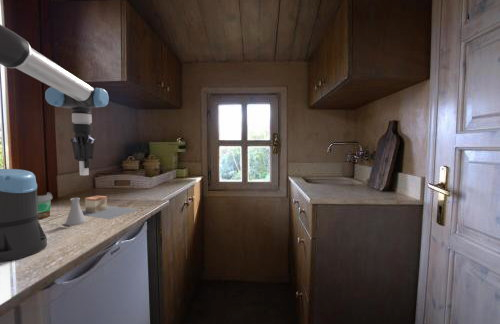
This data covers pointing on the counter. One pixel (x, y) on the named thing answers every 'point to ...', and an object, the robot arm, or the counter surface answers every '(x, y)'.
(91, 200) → the birch cube
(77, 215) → the flask
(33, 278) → the counter surface
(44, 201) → the food container
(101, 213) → the rubber mat
